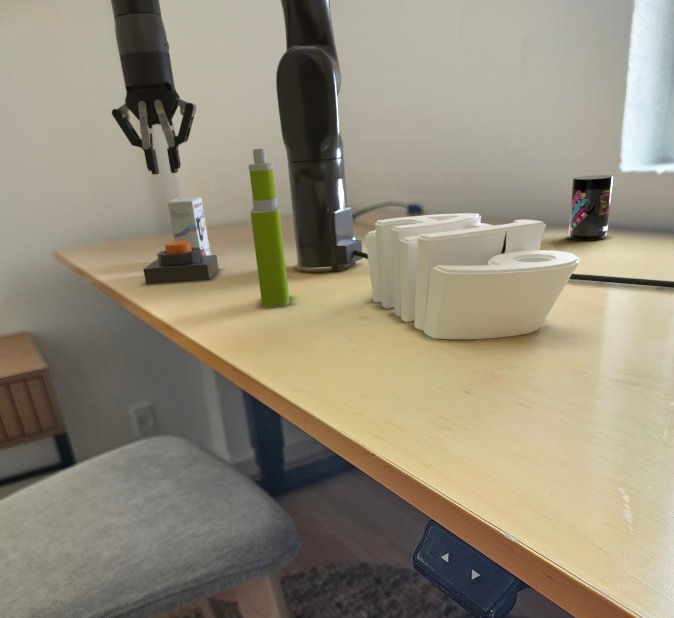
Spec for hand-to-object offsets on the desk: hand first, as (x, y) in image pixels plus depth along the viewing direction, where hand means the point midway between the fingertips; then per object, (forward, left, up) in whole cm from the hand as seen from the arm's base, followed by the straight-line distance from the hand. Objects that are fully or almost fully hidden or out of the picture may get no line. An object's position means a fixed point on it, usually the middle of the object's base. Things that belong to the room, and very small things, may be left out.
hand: (165, 172), depth 108 cm
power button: (0, 0, -13) cm, 13 cm away
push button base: (0, 0, -17) cm, 17 cm away
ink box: (+8, -12, -17) cm, 22 cm away
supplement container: (-59, -45, -17) cm, 76 cm away
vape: (-28, +11, -17) cm, 35 cm away
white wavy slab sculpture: (-54, +8, -17) cm, 57 cm away
